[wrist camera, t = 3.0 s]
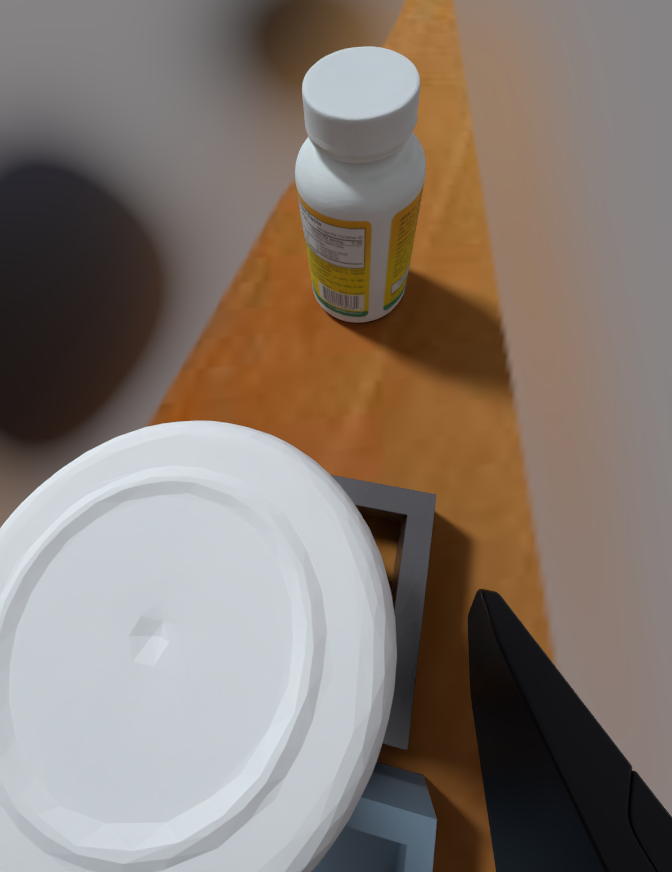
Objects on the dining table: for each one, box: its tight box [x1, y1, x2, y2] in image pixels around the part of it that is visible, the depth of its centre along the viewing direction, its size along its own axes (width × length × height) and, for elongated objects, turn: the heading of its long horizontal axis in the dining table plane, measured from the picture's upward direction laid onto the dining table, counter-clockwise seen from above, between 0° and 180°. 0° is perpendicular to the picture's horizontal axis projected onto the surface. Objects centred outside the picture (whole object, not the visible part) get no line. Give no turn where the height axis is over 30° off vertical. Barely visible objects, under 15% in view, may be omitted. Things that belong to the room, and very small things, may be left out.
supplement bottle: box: [295, 47, 426, 323], centre depth 17 cm, size 5×5×10 cm
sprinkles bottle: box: [0, 421, 397, 872], centre depth 10 cm, size 5×5×14 cm
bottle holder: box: [331, 475, 436, 750], centre depth 15 cm, size 8×8×2 cm
